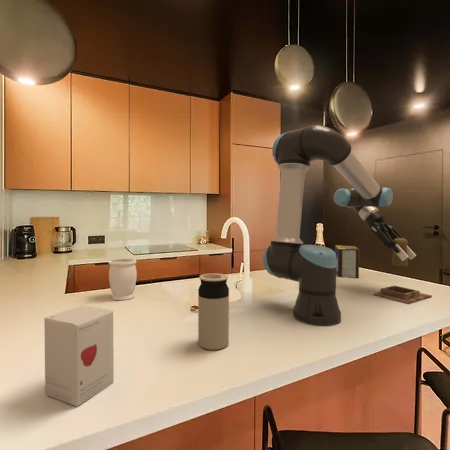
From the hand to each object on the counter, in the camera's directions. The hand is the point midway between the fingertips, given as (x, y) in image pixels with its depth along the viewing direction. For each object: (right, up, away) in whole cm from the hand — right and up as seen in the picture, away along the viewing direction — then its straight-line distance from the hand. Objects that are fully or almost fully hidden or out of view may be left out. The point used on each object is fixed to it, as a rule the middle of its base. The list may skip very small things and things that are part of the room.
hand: (409, 258), depth 119 cm
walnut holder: (0, -16, +5) cm, 17 cm away
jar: (-115, -16, +1) cm, 116 cm away
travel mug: (-77, -18, -40) cm, 89 cm away
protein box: (-7, -15, +46) cm, 49 cm away
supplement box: (-102, -19, -60) cm, 120 cm away
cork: (-2, -3, +3) cm, 5 cm away
